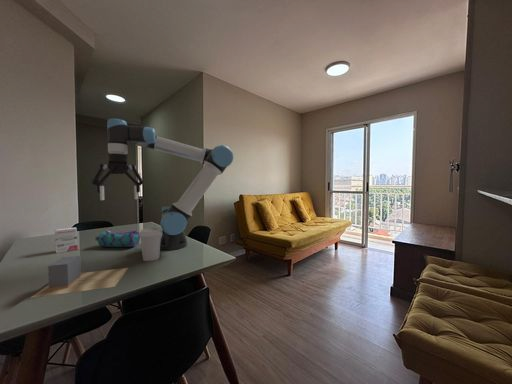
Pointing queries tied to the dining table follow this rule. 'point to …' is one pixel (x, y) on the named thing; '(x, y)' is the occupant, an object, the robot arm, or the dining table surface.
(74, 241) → the ink box
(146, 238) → the coffee cup
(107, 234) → the pencil case
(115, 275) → the board
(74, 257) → the block
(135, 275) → the dining table surface
